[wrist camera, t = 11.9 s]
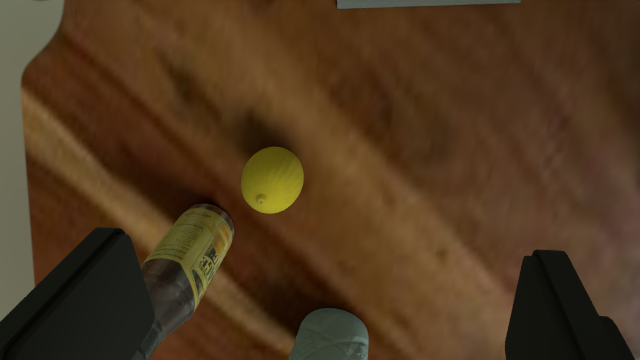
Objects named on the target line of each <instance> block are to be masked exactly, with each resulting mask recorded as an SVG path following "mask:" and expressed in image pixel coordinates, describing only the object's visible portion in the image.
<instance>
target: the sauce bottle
mask: <svg viewBox="0 0 640 360" xmlns="http://www.w3.org/2000/svg"><path fill="white" fill-rule="evenodd" d="M233 236H234V227H233V223H232V220H231V218H230V216H229V215H228V214H227V213H225V212H224V211H223V210H221V209H220V208H219V207H217V206H214V205H211V204H195V205H193V206H191V207H190V208H189V209H188V210H187V211H186V212H184V213H183V214H182V215H181V216H180V218H179V219H178V220H177V221H176V223H175V224H174V225H173V226H172V228H171V229H170V230H169V231H168V232H167V234H166V235H165V236H164V237H163V239H162V240H161V241H160V242H159V244H158V245H157V246H156V248H155V249H154V250H153V251H152V253H151V254H150V255H149V256H148V257H147V259H146V260H145V261H144V263H143V264H142V265H141V266H140V268H141V272H142V275H143V278H144V281H145V284H146V287H147V290H148V293H149V296H150V300H151V303H152V306H153V309H154V313H155V318H154V323H153V325H152V327H151V329H150V331H149V332H148V334H147V335H146V337H145V339H144V340H143V342H142V344H141V345H140V347H139V348H138V350H137V352H136V353H135V355H134V356H133V358H132V360H149V359H150V358H151V356H152V354H153V352H154V351H155V349H156V347H157V346H158V345H159V344H160V342H161V341H162V340H163V339H165V338H166V337H167V336H168V335H170V334H171V333H172V332H173V331H174V330H176V329H177V328H178V327H179V326H180V325H182V324H183V323H184V322H185V321H186V320H188V319H189V318H190V317H191V316H192V315H193V313H194V311H195V309H196V308H197V306H198V304H199V302H200V300H201V299H202V297H203V295H204V293H205V291H206V290H207V288H208V286H209V284H210V282H211V280H212V279H213V277H214V275H215V273H216V272H217V269H218V267H219V266H220V264H221V262H222V260H223V258H224V256H225V255H226V253H227V251H228V249H229V247H230V245H231V242H232V239H233Z"/></svg>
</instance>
